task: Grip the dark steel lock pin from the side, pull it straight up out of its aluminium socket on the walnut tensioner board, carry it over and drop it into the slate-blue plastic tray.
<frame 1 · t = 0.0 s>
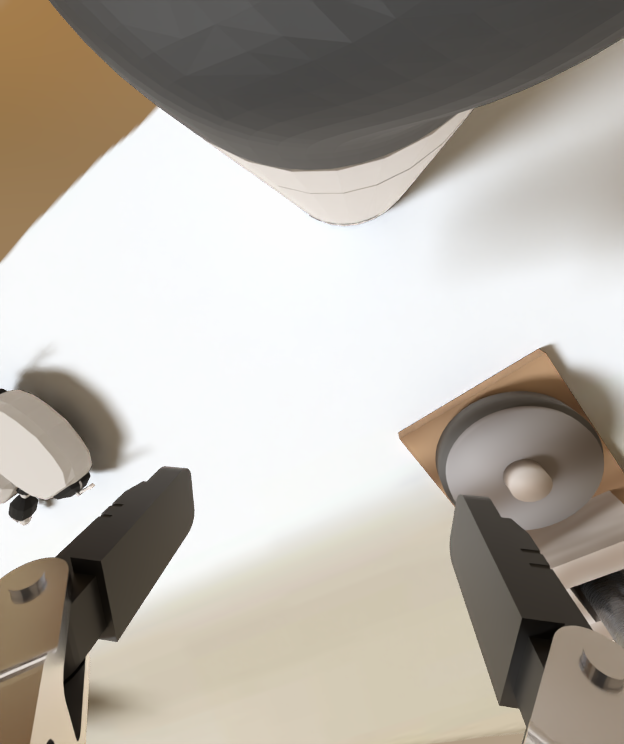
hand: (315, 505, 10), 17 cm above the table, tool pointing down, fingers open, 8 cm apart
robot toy: (41, 444, 34), on the table
lock pin: (578, 550, 28), point 1 cm above the table, touching tensioner board
tensioner board: (571, 540, 29), on the table
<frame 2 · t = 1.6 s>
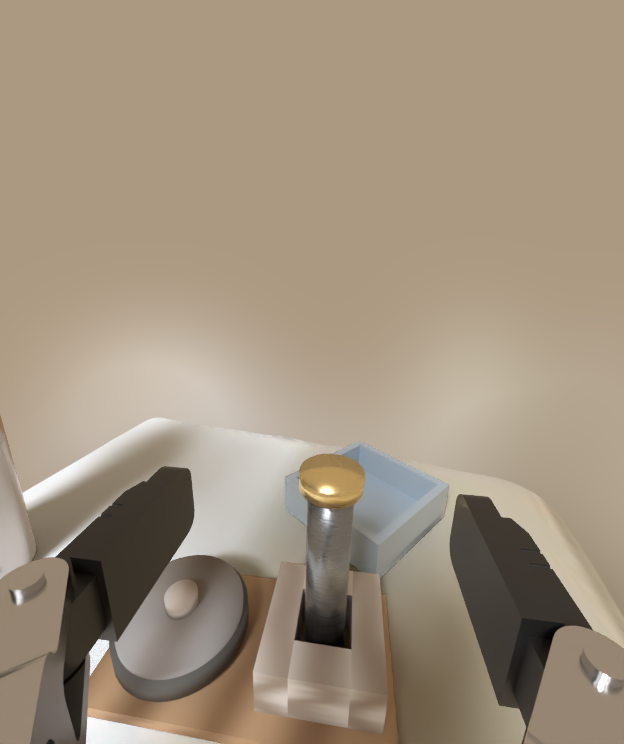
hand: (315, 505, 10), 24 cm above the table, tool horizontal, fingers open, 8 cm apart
lock pin: (323, 652, 27), point 1 cm above the table, touching tensioner board
tensioner board: (323, 660, 28), on the table
pin tray: (364, 512, 45), on the table
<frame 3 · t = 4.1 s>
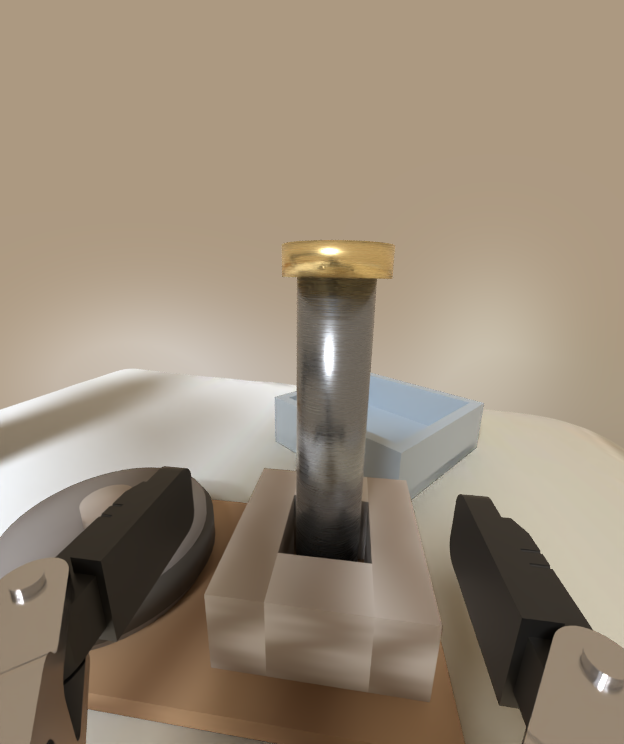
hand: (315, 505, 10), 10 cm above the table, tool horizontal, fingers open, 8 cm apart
lock pin: (325, 586, 18), point 1 cm above the table, touching tensioner board
tensioner board: (325, 600, 18), on the table
pin tray: (375, 444, 35), on the table
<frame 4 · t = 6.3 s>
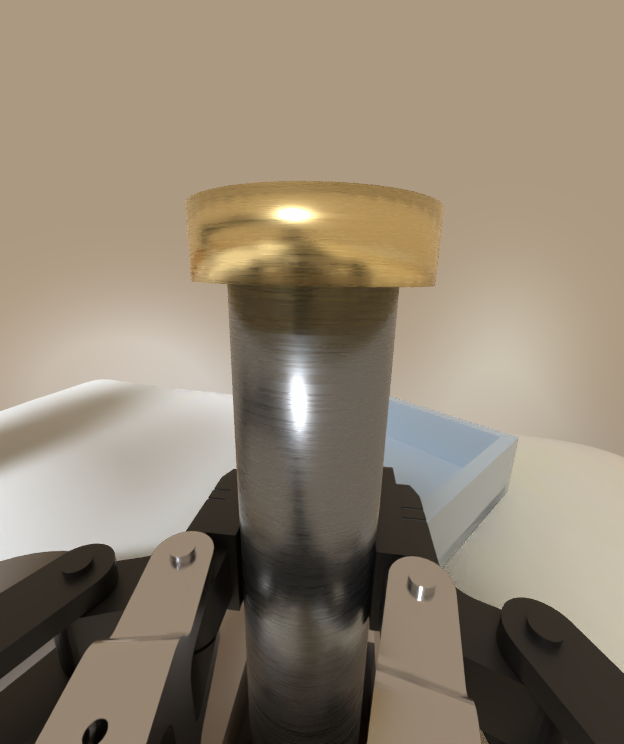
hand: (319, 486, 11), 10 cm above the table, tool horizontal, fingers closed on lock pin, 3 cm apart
pin tray: (379, 486, 28), on the table
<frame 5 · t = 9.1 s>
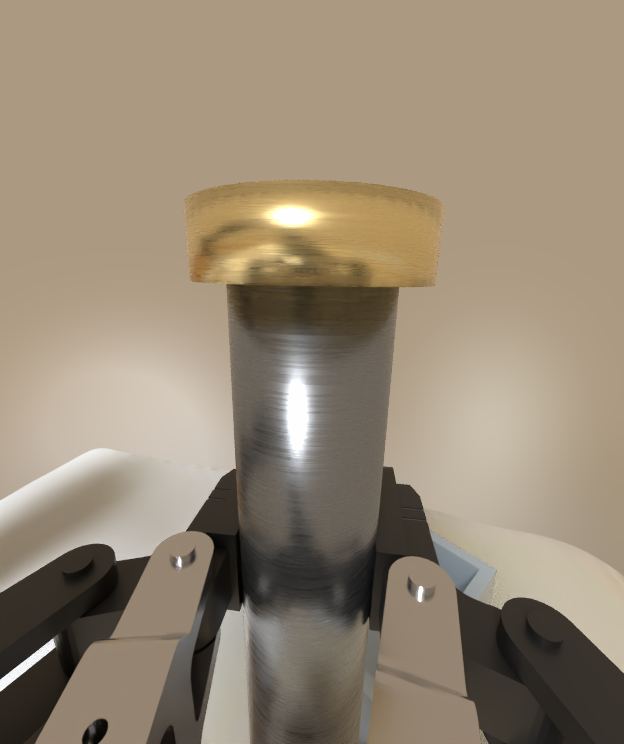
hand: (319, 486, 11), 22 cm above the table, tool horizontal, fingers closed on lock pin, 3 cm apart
pin tray: (366, 609, 30), on the table
when the fingers open (12 cm above the table, at t = 12.2 s): lock pin drops 2 cm, resting on pin tray.
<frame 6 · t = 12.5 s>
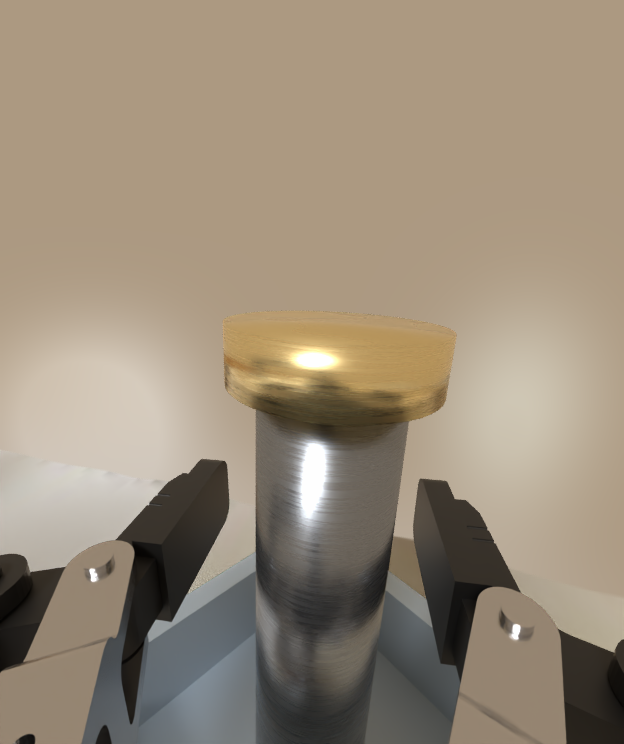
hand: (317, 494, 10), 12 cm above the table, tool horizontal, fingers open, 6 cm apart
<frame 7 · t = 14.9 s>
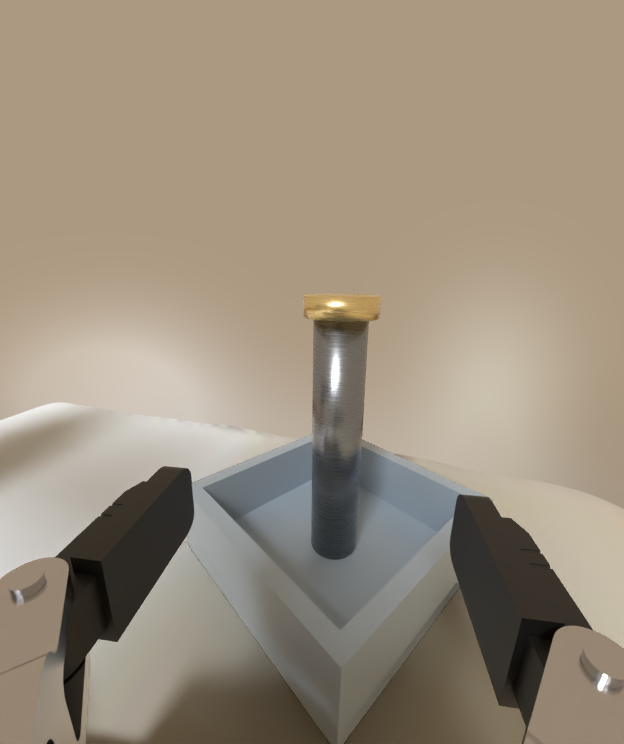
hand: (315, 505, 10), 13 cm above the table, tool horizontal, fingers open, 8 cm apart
lock pin: (333, 541, 24), point 1 cm above the table, touching pin tray
pin tray: (332, 552, 24), on the table
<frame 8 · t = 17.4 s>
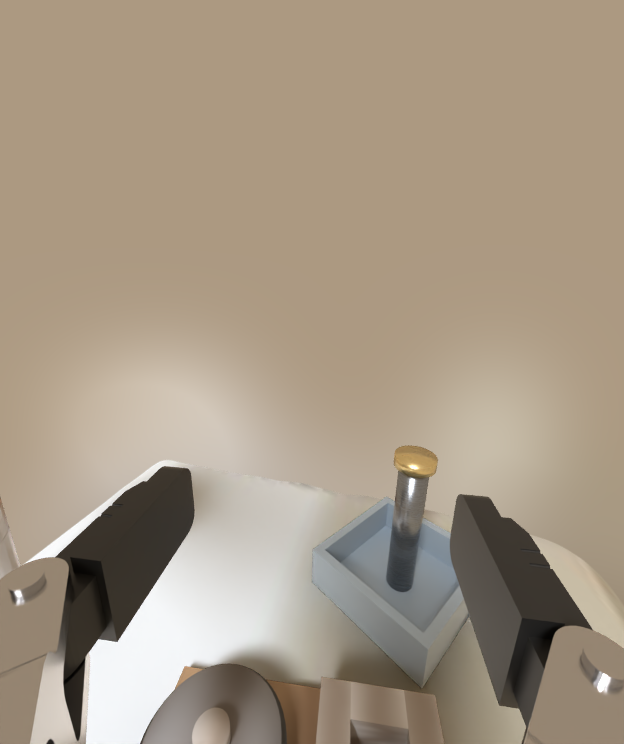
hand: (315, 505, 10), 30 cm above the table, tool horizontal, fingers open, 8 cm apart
lock pin: (399, 580, 41), point 1 cm above the table, touching pin tray
pin tray: (398, 586, 41), on the table
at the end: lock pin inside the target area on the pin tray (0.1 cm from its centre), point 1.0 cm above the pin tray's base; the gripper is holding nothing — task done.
